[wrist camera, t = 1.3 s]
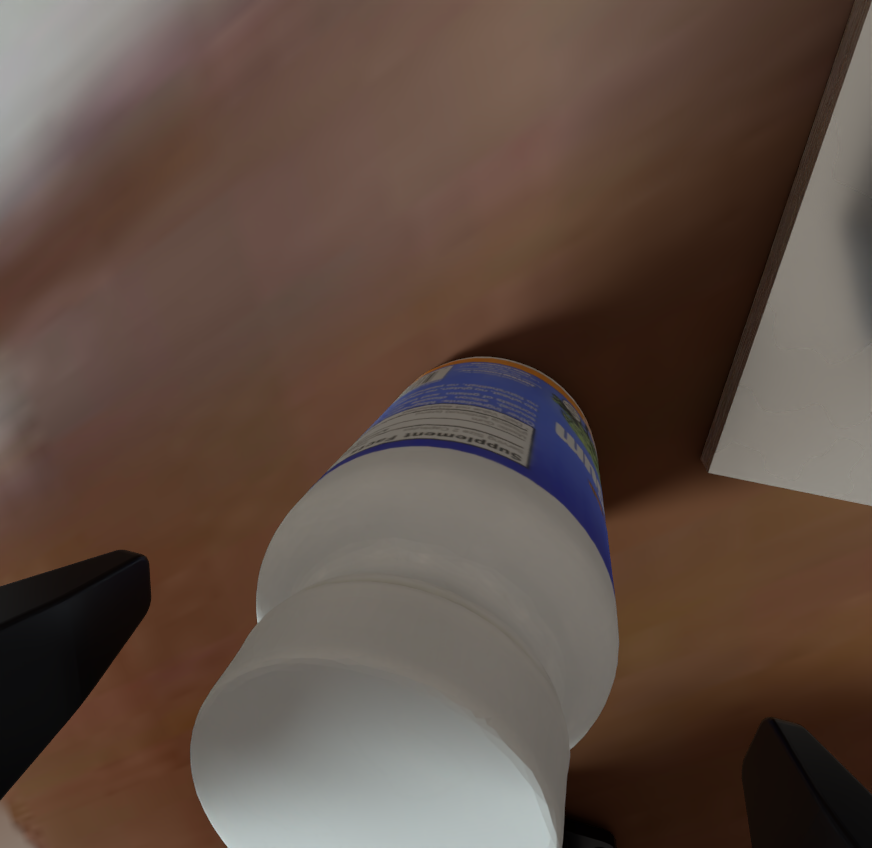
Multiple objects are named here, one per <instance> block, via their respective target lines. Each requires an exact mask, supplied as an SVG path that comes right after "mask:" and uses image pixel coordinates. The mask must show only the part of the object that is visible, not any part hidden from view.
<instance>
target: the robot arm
mask: <svg viewBox="0 0 872 848" xmlns="http://www.w3.org/2000/svg"><path fill="white" fill-rule="evenodd" d="M150 602H151V586H150V569H149V561H148V559H147V557H146V556H144V555H142V554H139V553H135V552H131V551H127V550H116V551H113V552H110V553H107V554H103V555H100V556H97V557H94V558H90V559H87V560H84V561H81V562H78V563H74V564H71V565H68V566H65V567H61V568H58V569H55V570H52V571H49V572H45V573H42V574H39V575H36V576H33V577H29V578H26V579H23V580H20V581H16V582H13V583H10V584H7V585H4V586H0V800H1V799H2V798H3V797H4V795H5V794H6V793H7V792H8V791H9V790H10V788H11V787H12V786H13V785H14V784H15V783H16V781H17V780H18V779H19V778H20V777H21V776H22V774H23V773H24V772H25V771H26V770H27V768H28V767H29V766H30V765H31V764H32V763H33V761H34V760H35V759H36V758H37V757H38V756H39V754H40V753H41V752H42V751H43V750H44V749H45V747H46V746H47V745H48V744H49V743H50V741H51V740H52V739H53V738H54V737H55V736H56V734H57V733H58V732H59V731H60V730H61V729H62V727H63V726H64V725H65V724H66V723H67V722H68V720H69V719H70V718H71V717H72V716H73V714H74V713H75V712H76V711H77V709H78V708H79V707H80V706H81V704H82V703H83V702H84V701H85V699H86V698H87V697H88V695H89V694H90V693H91V691H92V690H93V689H94V687H95V686H96V684H97V683H98V682H99V680H100V679H101V677H102V676H103V675H104V673H105V672H106V670H107V669H108V667H109V666H110V665H111V663H112V662H113V660H114V659H115V658H116V656H117V655H118V653H119V652H120V651H121V649H122V648H123V646H124V645H125V643H126V642H127V641H128V639H129V638H130V636H131V635H132V634H133V632H134V631H135V629H136V628H137V627H138V625H139V624H140V622H141V621H142V619H143V618H144V617H145V615H146V613H147V611H148V609H149V606H150ZM742 782H743V789H744V796H745V802H746V809H747V816H748V822H749V829H750V836H751V842H752V848H872V794H871V793H870V792H869V791H868V790H867V789H866V788H865V787H864V786H863V785H862V784H861V783H860V782H859V781H858V780H857V779H856V778H855V777H854V776H853V775H852V774H851V773H850V772H849V771H848V770H847V769H846V768H845V767H844V766H843V765H842V764H841V763H840V762H839V761H838V760H837V759H836V758H835V757H834V756H833V755H832V754H831V753H830V752H829V751H828V750H827V749H826V748H824V747H823V746H822V745H821V744H820V743H819V742H818V741H817V740H816V739H815V738H814V737H813V736H812V735H811V734H810V733H809V732H808V731H807V730H806V729H805V728H804V727H803V726H801V725H799V724H797V723H793V722H789V721H786V720H782V719H778V718H774V717H767V718H765V719H764V720H762V722H761V723H760V725H759V727H758V729H757V732H756V734H755V736H754V738H753V740H752V742H751V745H750V747H749V749H748V751H747V753H746V755H745V758H744V760H743V765H742ZM562 848H617V845H616V839H615V837H614V835H612V834H611V833H610V832H608V831H606V830H604V829H601V828H597V827H594V826H591V825H587V824H584V823H581V822H577V821H574V820H570V819H567V818H564V832H563V844H562Z"/></svg>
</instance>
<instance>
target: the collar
mask: <svg viewBox="0 0 872 848" xmlns="http://www.w3.org/2000/svg"><path fill="white" fill-rule="evenodd" d="M700 459H701V461H702V463H703V465H704V466H705V468H706V470H707V472H708V473H712V474H717V475H722V476H727V477H732V478H737V479H742V480H747V481H752V482H756V483H761V484H766V485H771V486H776V487H781V488H786V489H791V490H796V491H801V492H806V493H811V494H816V495H821V496H826V497H831V498H836V499H841V500H846V501H851V502H856V503H861V504H865V505H870V506H872V0H855V2H854V5H853V8H852V11H851V14H850V17H849V20H848V23H847V26H846V29H845V32H844V35H843V38H842V41H841V44H840V47H839V50H838V52H837V55H836V58H835V61H834V64H833V67H832V70H831V73H830V76H829V79H828V82H827V85H826V88H825V91H824V94H823V97H822V100H821V103H820V106H819V109H818V112H817V115H816V118H815V121H814V124H813V126H812V129H811V132H810V135H809V138H808V141H807V144H806V147H805V150H804V153H803V156H802V159H801V162H800V165H799V168H798V171H797V174H796V177H795V180H794V183H793V186H792V189H791V192H790V195H789V198H788V201H787V203H786V206H785V209H784V212H783V215H782V218H781V221H780V224H779V227H778V230H777V233H776V236H775V239H774V242H773V245H772V248H771V251H770V254H769V257H768V260H767V263H766V266H765V269H764V272H763V275H762V277H761V280H760V283H759V286H758V289H757V292H756V295H755V298H754V301H753V304H752V307H751V310H750V313H749V316H748V319H747V322H746V325H745V328H744V331H743V334H742V337H741V340H740V343H739V346H738V349H737V351H736V354H735V357H734V360H733V363H732V366H731V369H730V372H729V375H728V378H727V381H726V384H725V387H724V390H723V393H722V396H721V399H720V402H719V405H718V408H717V411H716V414H715V417H714V420H713V423H712V425H711V428H710V431H709V434H708V437H707V440H706V443H705V446H704V449H703V452H702V455H701V458H700Z"/></svg>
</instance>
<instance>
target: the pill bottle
mask: <svg viewBox="0 0 872 848" xmlns="http://www.w3.org/2000/svg"><path fill="white" fill-rule="evenodd" d="M256 611H257V622H258V624H257V625H256V626H255V627H254V629H253V630H252V631H251V633H250V634H249V635H248V637H247V638H246V640H245V642H244V644H243V645H242V647H241V649H240V650H239V652H238V653H237V655H236V656H235V658H234V659H233V660H232V662H231V663H230V665H229V666H228V668H227V669H226V670H225V672H224V673H223V674H222V676H221V677H220V679H219V680H218V681H217V683H216V684H215V685H214V687H213V688H212V690H211V691H210V693H209V694H208V696H207V698H206V700H205V701H204V703H203V705H202V706H201V708H200V711H199V713H198V716H197V719H196V722H195V725H194V728H193V732H192V739H191V745H190V758H191V771H192V776H193V780H194V784H195V789H196V793H197V795H198V797H199V800H200V802H201V804H202V807H203V809H204V811H205V813H206V815H207V817H208V818H209V820H210V822H211V824H212V826H213V827H214V829H215V830H216V832H217V833H218V835H219V836H220V837H221V839H222V840H223V842H224V843H225V844H226V845H227V847H228V848H562V844H563V832H564V814H565V799H566V785H567V774H568V769H569V761H570V749H572V748H573V747H574V746H575V745H576V744H577V743H578V742H579V741H580V740H581V739H582V738H583V737H584V736H585V735H586V733H587V732H588V731H589V729H590V728H591V726H592V725H593V724H594V722H595V721H596V719H597V718H598V716H599V715H600V713H601V711H602V709H603V707H604V706H605V703H606V701H607V698H608V696H609V694H610V691H611V687H612V684H613V681H614V678H615V674H616V667H617V663H618V649H619V635H618V622H617V611H616V600H615V592H614V585H613V577H612V569H611V561H610V552H609V544H608V535H607V528H606V522H605V512H604V504H603V495H602V488H601V481H600V474H599V466H598V458H597V451H596V446H595V443H594V439H593V436H592V432H591V429H590V427H589V424H588V422H587V420H586V418H585V416H584V414H583V412H582V411H581V409H580V408H579V406H578V405H577V403H576V402H575V400H574V399H573V398H572V397H571V396H570V395H569V394H568V393H567V391H566V390H565V389H564V388H562V387H561V386H560V385H559V384H558V383H557V382H555V381H554V380H553V379H552V378H550V377H549V376H547V375H545V374H544V373H542V372H541V371H539V370H537V369H534V368H532V367H530V366H527V365H525V364H522V363H519V362H516V361H512V360H508V359H503V358H496V357H470V358H463V359H458V360H455V361H451V362H448V363H446V364H443V365H440V366H438V367H436V368H434V369H431V370H429V371H427V372H426V373H424V374H423V375H422V376H421V377H419V378H418V379H417V380H416V381H415V382H413V383H412V384H411V385H410V386H409V387H408V388H407V389H406V390H405V391H404V392H403V393H402V394H401V395H400V396H399V397H398V398H397V399H396V400H395V402H394V403H393V404H392V405H391V406H390V407H389V408H388V409H387V410H386V411H385V412H384V413H383V414H382V415H381V416H380V417H379V418H378V419H377V421H376V422H375V423H374V424H373V425H372V426H371V427H370V428H369V429H368V430H367V431H366V432H365V433H364V434H363V435H362V436H361V437H360V438H359V439H358V440H357V441H356V442H355V443H354V444H353V445H352V446H351V447H350V448H349V449H348V450H347V451H346V452H345V453H344V454H343V455H342V457H341V458H340V459H339V460H338V461H337V462H336V463H335V464H334V465H333V466H332V467H331V468H330V469H329V470H328V471H327V472H326V473H325V474H324V475H323V476H322V477H321V478H320V479H319V480H318V482H317V483H316V484H315V485H313V486H312V487H311V489H310V490H309V491H308V492H307V493H306V494H305V495H304V496H303V498H302V499H301V500H300V501H299V502H298V503H297V504H296V505H295V506H294V507H293V508H292V510H291V511H290V512H289V513H288V515H287V516H286V517H285V519H284V520H283V522H282V523H281V525H280V526H279V528H278V529H277V530H276V532H275V534H274V536H273V538H272V540H271V542H270V544H269V546H268V549H267V551H266V554H265V557H264V559H263V562H262V565H261V568H260V573H259V579H258V586H257V597H256Z"/></svg>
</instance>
